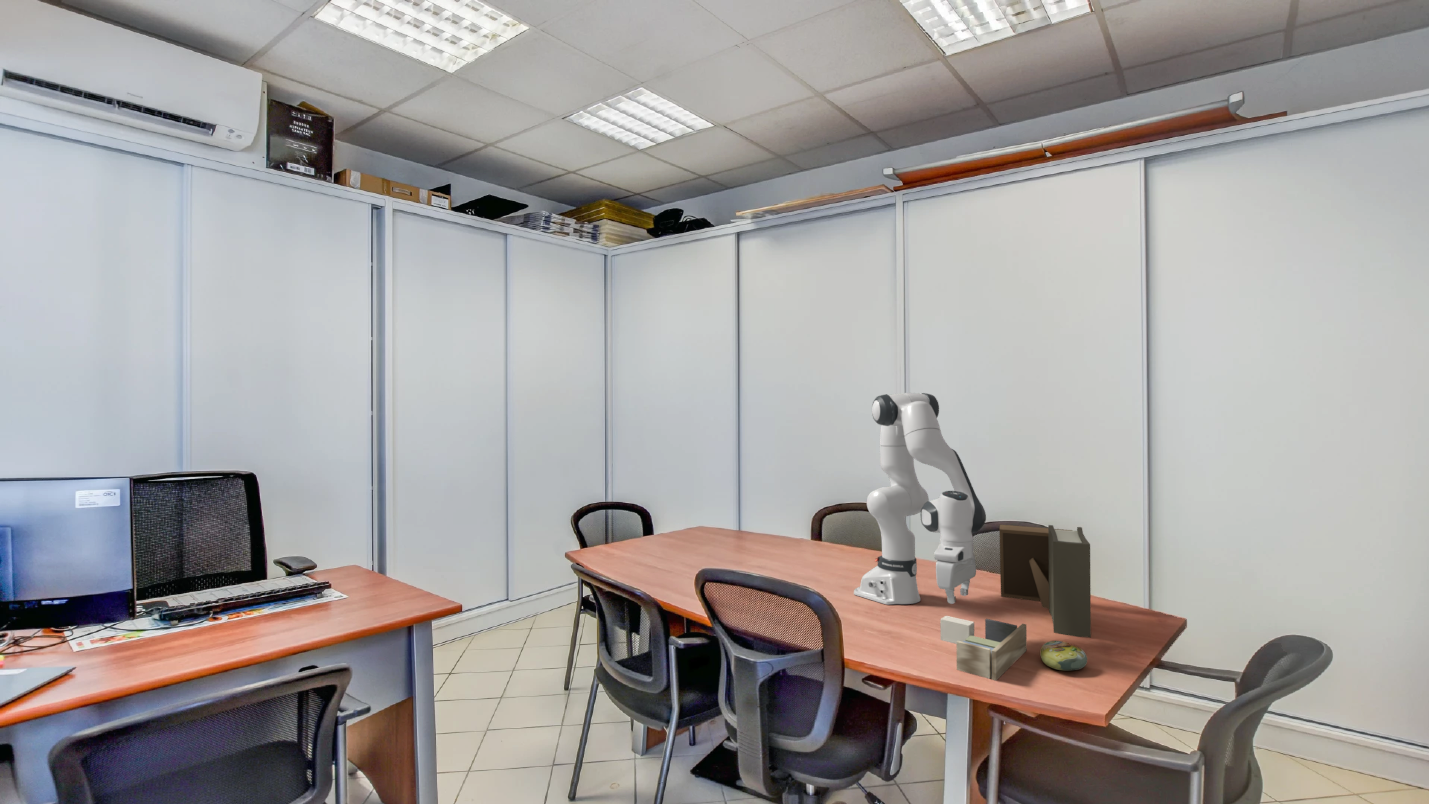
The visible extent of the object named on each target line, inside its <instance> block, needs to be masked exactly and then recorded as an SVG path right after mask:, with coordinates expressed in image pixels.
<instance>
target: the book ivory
mask: <svg viewBox="0 0 1429 804" xmlns="http://www.w3.org/2000/svg"><path fill="white" fill-rule="evenodd" d="M939 620H940V623H939V624H940V625H939V626H940V641H943V642H947V643H951V644H955V645H956V642H957V641H961V642H963V641H965V639H967V638H968V637H969V636H975V621H972V620H967V619H963V618H958V617H954V616H949V615H944V616H943V617H941V618H940V619H939Z"/></svg>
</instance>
